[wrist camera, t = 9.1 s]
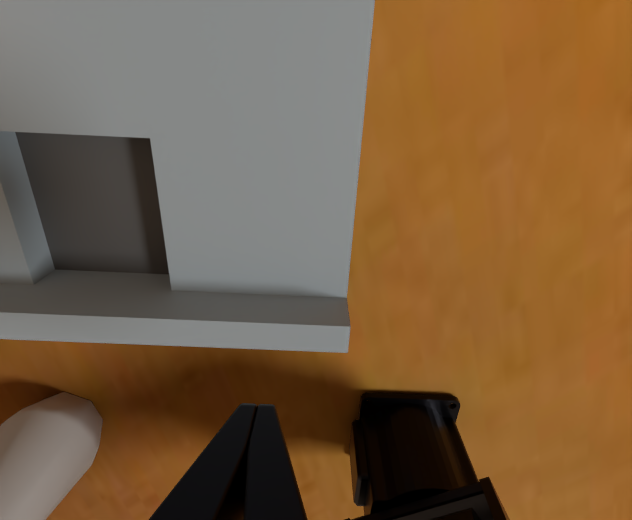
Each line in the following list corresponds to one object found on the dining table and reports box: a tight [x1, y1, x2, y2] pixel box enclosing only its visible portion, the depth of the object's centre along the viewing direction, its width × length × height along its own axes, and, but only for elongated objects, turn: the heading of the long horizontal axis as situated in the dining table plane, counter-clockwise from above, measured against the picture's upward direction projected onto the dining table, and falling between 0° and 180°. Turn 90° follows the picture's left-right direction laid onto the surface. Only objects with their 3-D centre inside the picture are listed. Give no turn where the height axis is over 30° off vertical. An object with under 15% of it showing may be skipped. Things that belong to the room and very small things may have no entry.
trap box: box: [0, 0, 375, 353], centre depth 15 cm, size 26×20×5 cm
